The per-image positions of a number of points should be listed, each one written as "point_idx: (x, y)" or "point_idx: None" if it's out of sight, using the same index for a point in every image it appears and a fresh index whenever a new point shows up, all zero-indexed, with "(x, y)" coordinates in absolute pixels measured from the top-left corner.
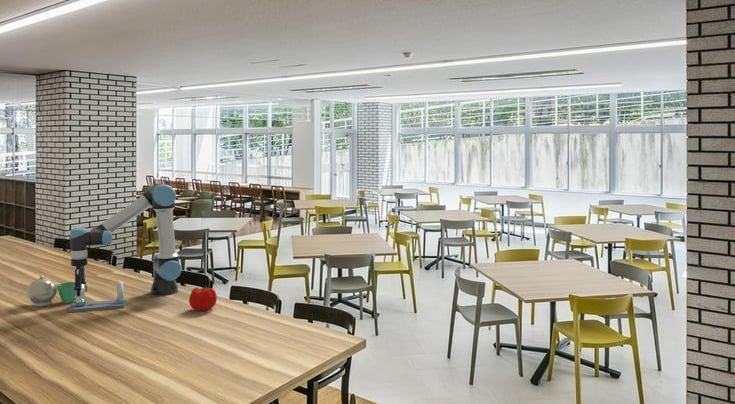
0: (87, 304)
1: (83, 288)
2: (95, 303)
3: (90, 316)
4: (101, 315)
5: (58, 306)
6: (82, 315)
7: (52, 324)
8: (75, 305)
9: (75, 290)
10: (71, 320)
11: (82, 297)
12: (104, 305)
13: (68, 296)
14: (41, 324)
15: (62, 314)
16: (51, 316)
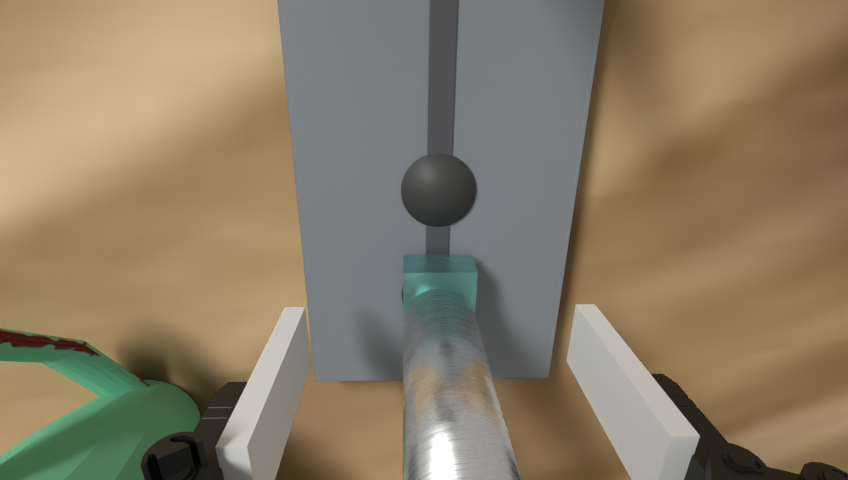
0: (406, 236)
1: (470, 413)
2: (388, 152)
3: (795, 152)
4: (832, 34)
5: (296, 455)
6: (708, 232)
7: (841, 405)
8: None
9: (85, 460)
10: (821, 298)
11: (475, 330)
12: (536, 22)
13: None
14: (788, 465)
15: (580, 389)
16: (601, 447)
